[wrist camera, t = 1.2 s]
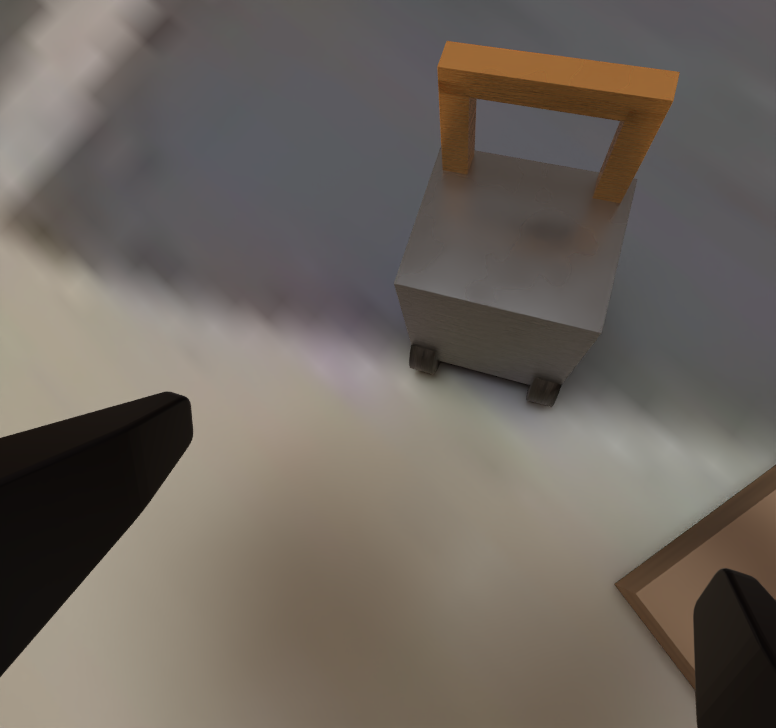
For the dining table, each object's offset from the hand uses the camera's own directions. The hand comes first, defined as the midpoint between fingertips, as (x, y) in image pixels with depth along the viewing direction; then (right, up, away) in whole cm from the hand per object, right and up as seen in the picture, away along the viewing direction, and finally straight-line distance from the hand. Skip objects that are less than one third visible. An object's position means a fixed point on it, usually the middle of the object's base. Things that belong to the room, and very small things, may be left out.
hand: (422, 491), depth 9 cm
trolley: (+4, +4, +15) cm, 16 cm away
